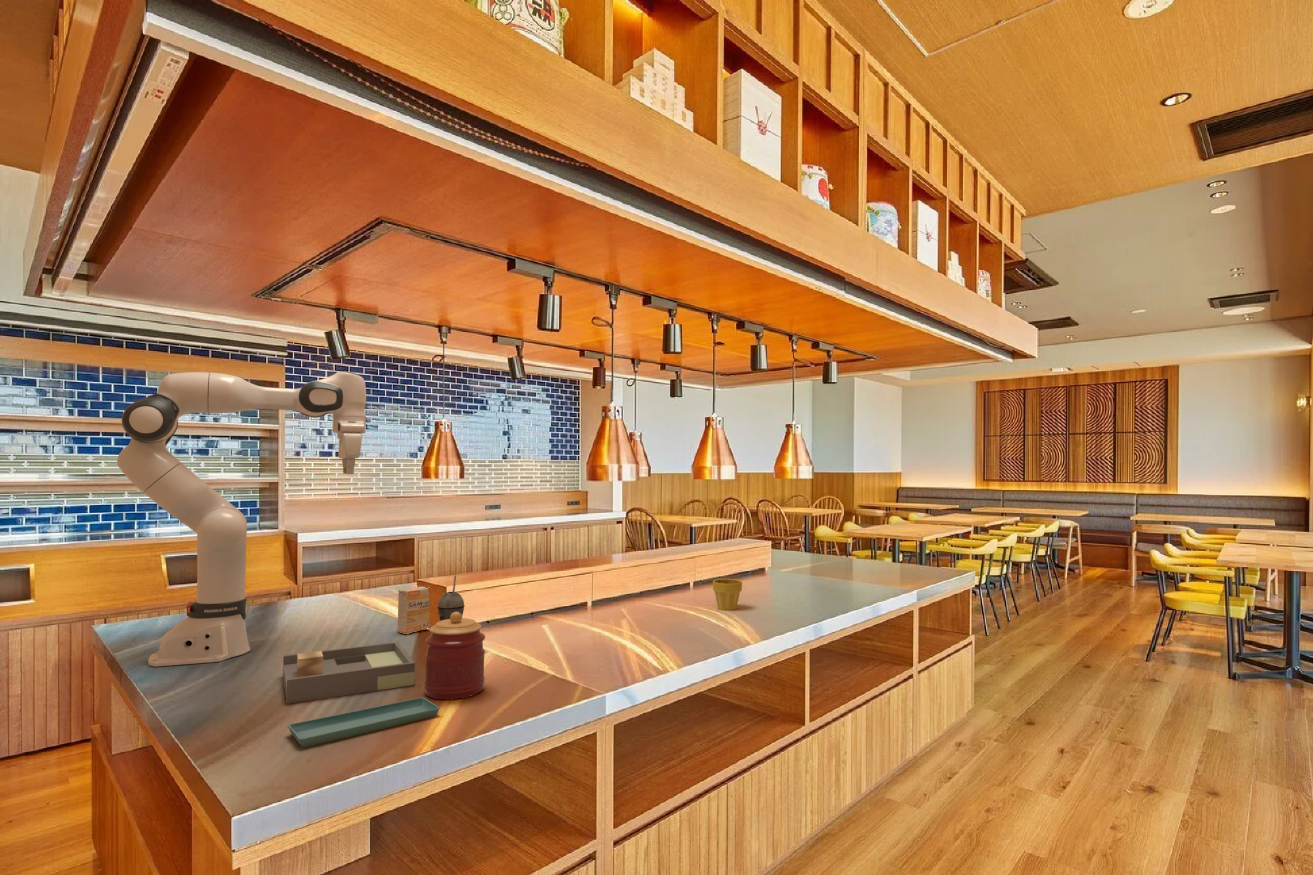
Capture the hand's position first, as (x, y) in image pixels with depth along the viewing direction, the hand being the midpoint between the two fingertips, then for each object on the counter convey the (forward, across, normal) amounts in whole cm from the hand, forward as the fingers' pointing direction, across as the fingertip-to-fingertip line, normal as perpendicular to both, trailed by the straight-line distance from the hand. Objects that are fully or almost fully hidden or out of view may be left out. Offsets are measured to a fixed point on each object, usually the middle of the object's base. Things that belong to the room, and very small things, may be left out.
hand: (348, 474), depth 202 cm
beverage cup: (+48, +25, +24) cm, 59 cm away
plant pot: (+48, +19, +123) cm, 134 cm away
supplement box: (+48, 0, +19) cm, 52 cm away
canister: (+48, +62, +16) cm, 80 cm away
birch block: (+45, +42, -12) cm, 63 cm away
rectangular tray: (+49, +74, -4) cm, 89 cm away
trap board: (+48, +42, -4) cm, 64 cm away
